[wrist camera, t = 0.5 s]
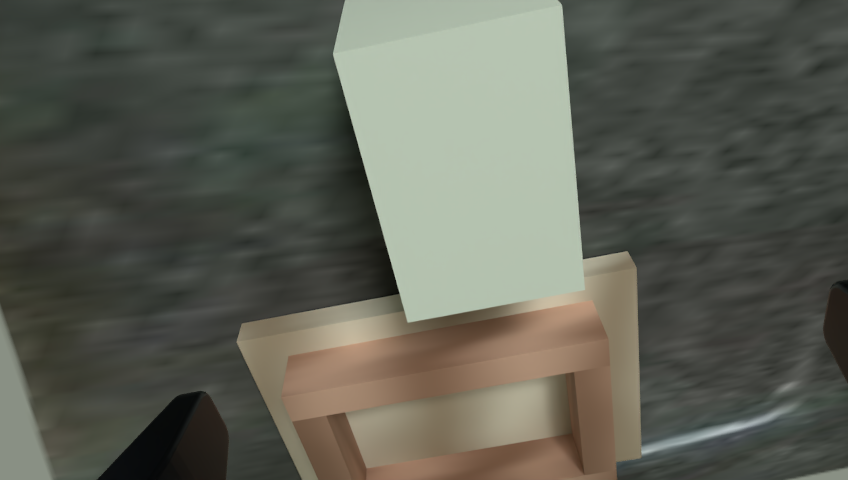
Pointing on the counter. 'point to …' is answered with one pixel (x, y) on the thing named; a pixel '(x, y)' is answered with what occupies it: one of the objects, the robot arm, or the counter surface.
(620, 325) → the pink and beige box
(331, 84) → the counter surface
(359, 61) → the sage block
